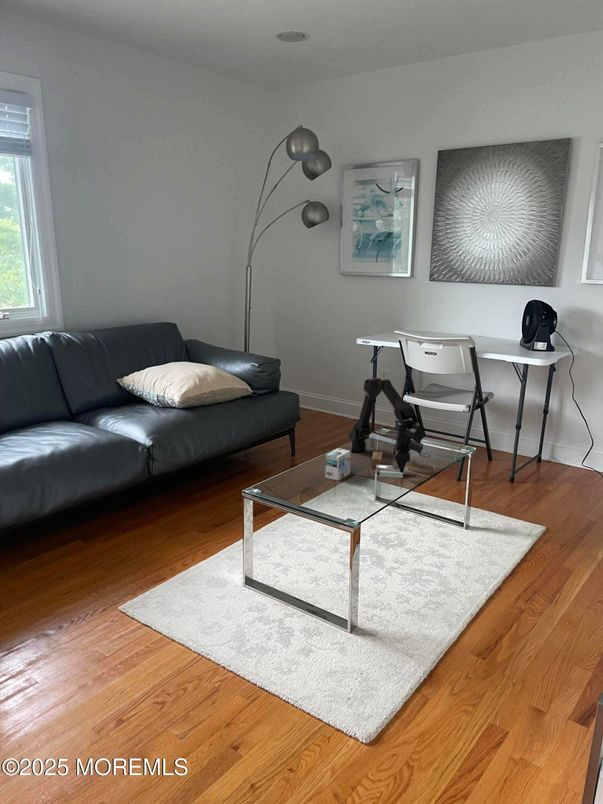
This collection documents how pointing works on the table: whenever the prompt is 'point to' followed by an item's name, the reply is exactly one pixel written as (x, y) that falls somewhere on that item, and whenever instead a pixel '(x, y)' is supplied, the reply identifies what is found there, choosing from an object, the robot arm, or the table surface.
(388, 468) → the axle
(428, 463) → the table surface
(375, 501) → the table surface
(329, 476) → the light bulb box
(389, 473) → the cradle
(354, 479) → the table surface
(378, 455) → the bearing block
